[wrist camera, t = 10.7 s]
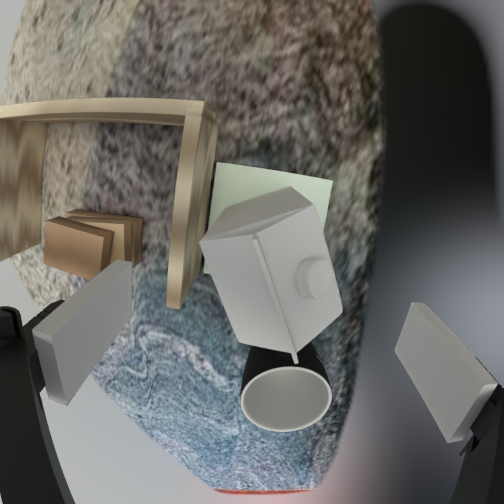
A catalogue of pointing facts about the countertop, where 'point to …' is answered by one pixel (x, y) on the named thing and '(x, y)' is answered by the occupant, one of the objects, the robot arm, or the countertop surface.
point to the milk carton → (273, 270)
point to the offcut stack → (92, 241)
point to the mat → (263, 189)
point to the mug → (284, 389)
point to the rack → (116, 111)
